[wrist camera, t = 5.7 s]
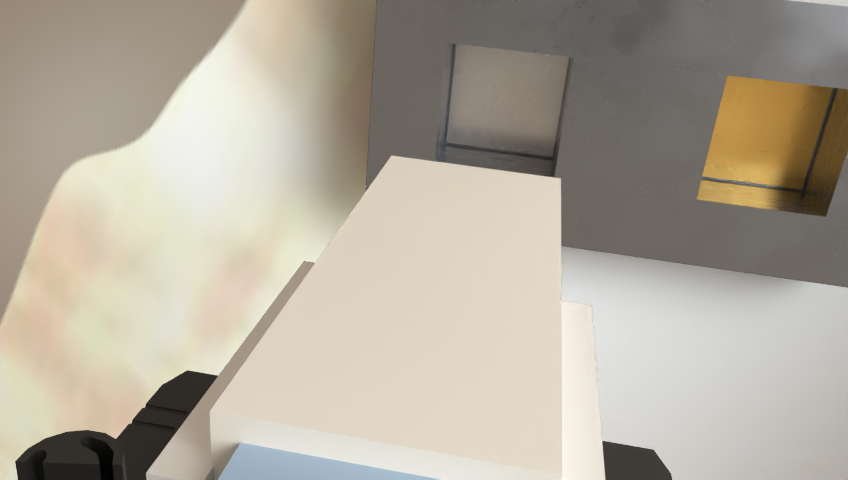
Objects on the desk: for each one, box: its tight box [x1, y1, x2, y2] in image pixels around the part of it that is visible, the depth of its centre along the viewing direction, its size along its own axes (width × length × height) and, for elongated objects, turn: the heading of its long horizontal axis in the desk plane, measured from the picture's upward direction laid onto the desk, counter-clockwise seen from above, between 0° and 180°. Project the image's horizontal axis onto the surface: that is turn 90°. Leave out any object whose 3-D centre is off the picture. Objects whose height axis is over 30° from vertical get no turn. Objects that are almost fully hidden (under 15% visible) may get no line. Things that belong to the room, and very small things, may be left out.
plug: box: [210, 156, 562, 480], centre depth 15 cm, size 4×4×12 cm
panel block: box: [366, 0, 848, 287], centre depth 35 cm, size 24×12×4 cm, turn 85°
